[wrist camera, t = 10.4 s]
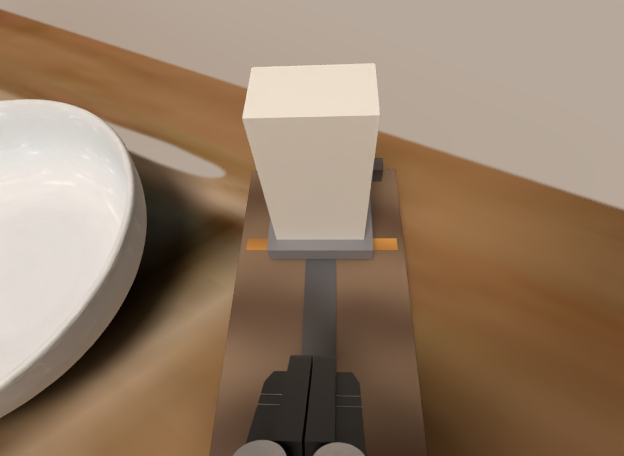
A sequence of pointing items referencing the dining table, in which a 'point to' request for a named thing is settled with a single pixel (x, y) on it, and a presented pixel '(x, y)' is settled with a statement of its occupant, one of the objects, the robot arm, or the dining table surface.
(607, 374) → the dining table surface
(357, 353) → the brown flat rectangular board
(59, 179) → the serving bowl
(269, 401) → the robot arm
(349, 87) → the block
